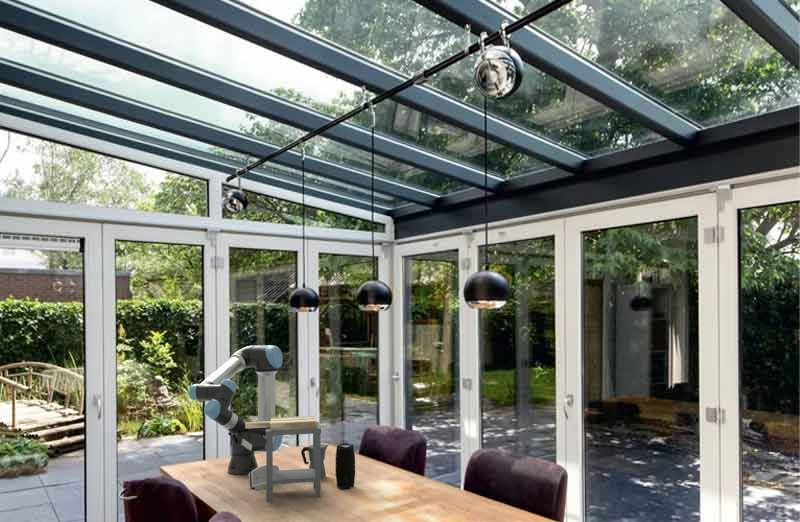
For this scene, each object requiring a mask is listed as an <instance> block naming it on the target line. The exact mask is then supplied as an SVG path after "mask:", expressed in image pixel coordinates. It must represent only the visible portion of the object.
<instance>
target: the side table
mask: <svg viewBox="0 0 800 522" xmlns="http://www.w3.org/2000/svg"><path fill="white" fill-rule="evenodd" d="M321 434H322V426H321V424H320V421H316V428H315V429H296V430H277V431H270V427H266V452H265V453H266V457H265V458H266V460H265V461H266V464H265V465H266V488H265V489H266V490H265V492H266V498H265V499H266V501H265V502H266V503H271V502H273V489H274V488H273V486H274V485H273V484H277V485H283V484H284V485H286V484H299V483H311V482H312V484H313V486H312V488H313V490H314V498H315V499H321V498H322V496H321V495H322V487H321V485H322V484H321V483H322V482H321V481H322V479H321V451H320V444H321ZM278 435H283V436H293V435H294V436H296V435H312V445H313V468H311V469H309V468H300V469H299V468H298V469H296V468H295V469H283V470H282V469H281V470H280V469H279V471H273V465H274V464H273V463H274V461H273V458H274V455H273V454H274V453H273V436H278Z"/></svg>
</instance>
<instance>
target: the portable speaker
mask: <svg viewBox="0 0 800 522" xmlns="http://www.w3.org/2000/svg"><path fill="white" fill-rule="evenodd" d="M355 478H356V454H355V449H354V444H353V443H352V444H351V443H347V442H342V443H339V444H338V445H336V452H335V480H336V489H337V488H340V489H341V490H342V491H347V490H350V489H351V488H354V487H355Z"/></svg>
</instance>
